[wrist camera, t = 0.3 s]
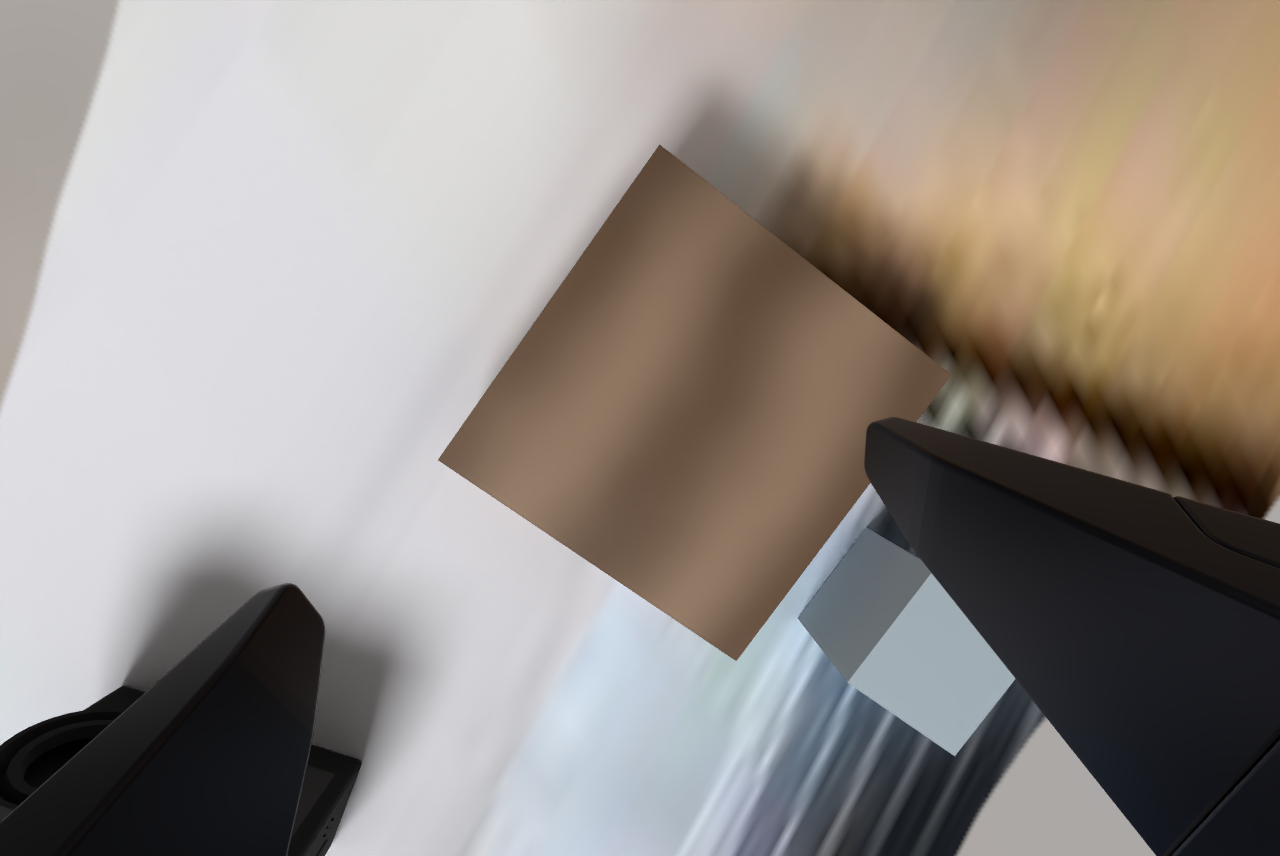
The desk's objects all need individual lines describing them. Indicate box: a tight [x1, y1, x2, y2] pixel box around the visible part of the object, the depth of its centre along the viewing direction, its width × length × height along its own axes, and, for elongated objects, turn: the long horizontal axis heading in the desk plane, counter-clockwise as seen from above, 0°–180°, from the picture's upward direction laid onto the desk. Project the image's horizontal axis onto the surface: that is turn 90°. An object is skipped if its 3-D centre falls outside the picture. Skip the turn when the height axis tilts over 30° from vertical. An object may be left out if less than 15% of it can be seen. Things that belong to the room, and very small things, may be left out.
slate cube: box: [798, 528, 1015, 756], centre depth 21 cm, size 5×5×5 cm
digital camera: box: [0, 686, 361, 856], centre depth 19 cm, size 10×5×7 cm, turn 68°
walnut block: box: [438, 145, 951, 661], centre depth 21 cm, size 13×13×4 cm
